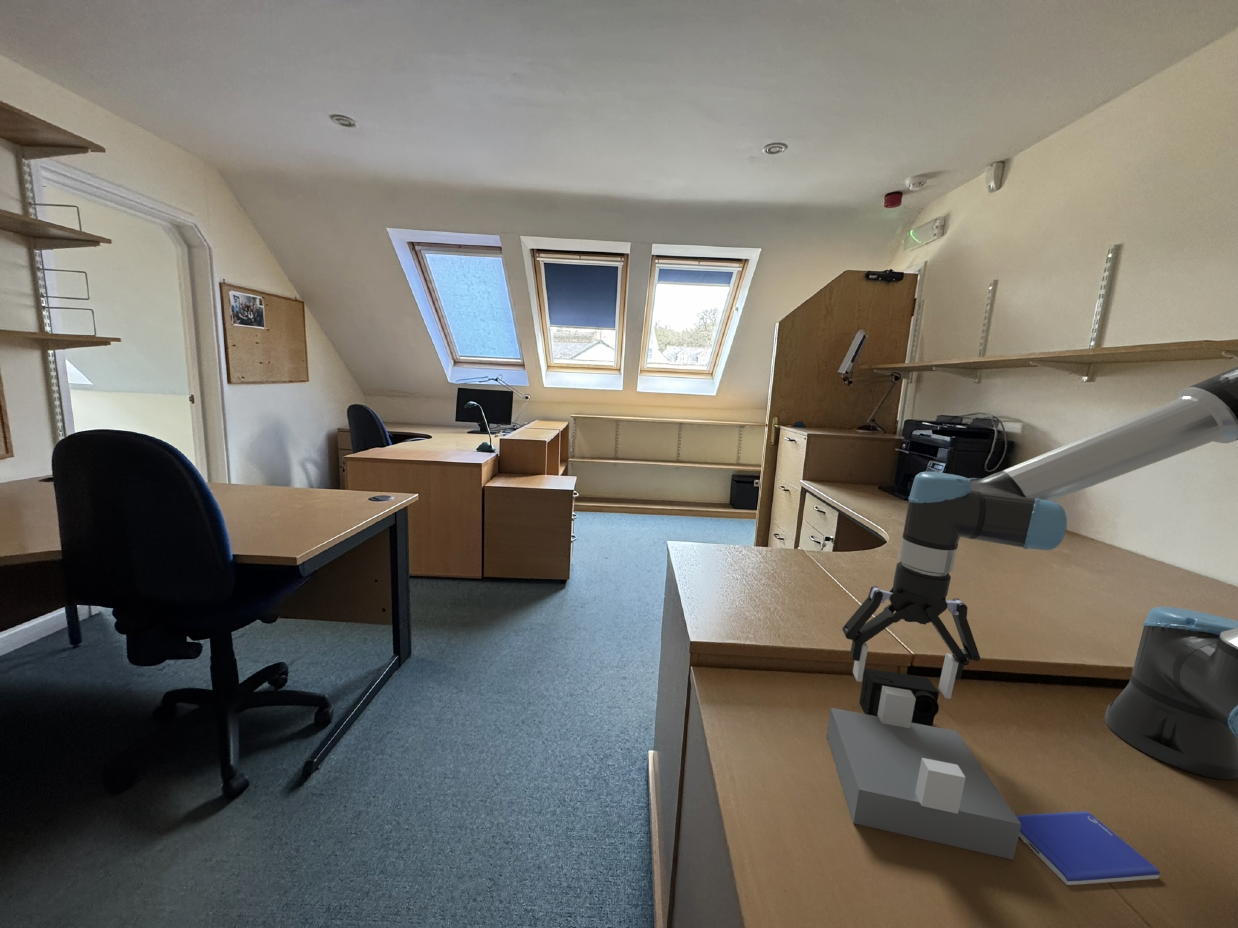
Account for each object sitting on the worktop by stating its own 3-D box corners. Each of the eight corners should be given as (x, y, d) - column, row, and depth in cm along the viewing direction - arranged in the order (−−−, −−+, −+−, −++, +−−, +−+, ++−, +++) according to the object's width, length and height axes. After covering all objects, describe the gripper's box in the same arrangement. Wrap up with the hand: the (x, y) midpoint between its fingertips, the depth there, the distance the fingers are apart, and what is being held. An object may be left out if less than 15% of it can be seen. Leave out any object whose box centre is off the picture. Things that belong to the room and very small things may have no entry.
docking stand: (949, 757, 73) (961, 699, 72) (1015, 863, 57) (1032, 790, 55) (825, 733, 77) (834, 677, 75) (854, 826, 60) (866, 757, 59)
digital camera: (868, 723, 80) (875, 685, 79) (858, 702, 85) (864, 667, 84) (935, 734, 78) (943, 696, 77) (921, 712, 84) (927, 676, 82)
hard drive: (1086, 809, 64) (1004, 813, 62) (1161, 870, 56) (1069, 877, 54) (1083, 819, 64) (1002, 824, 63) (1157, 881, 56) (1066, 889, 55)
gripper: (997, 570, 78) (970, 686, 82) (836, 548, 83) (818, 658, 87) (1025, 589, 71) (995, 715, 74) (847, 563, 76) (826, 683, 79)
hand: (899, 685), depth 81 cm, fingers open, 13 cm apart
